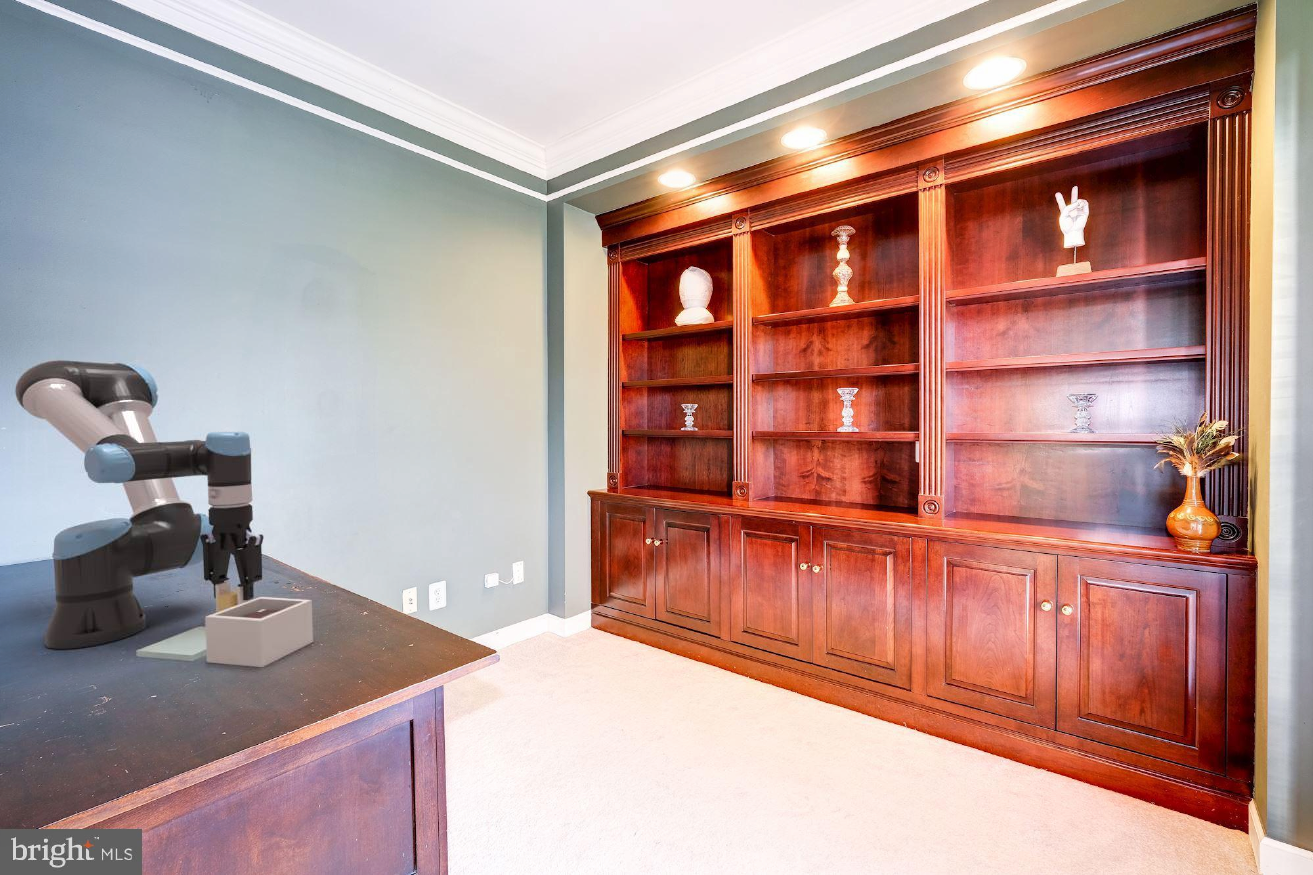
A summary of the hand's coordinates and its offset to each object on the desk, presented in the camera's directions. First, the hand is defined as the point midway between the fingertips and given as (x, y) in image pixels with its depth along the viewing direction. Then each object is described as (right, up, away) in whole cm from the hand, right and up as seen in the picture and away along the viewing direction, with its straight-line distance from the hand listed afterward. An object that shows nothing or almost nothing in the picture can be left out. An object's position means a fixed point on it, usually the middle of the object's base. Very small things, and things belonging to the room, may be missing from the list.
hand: (234, 613), depth 125 cm
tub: (+14, -4, -11) cm, 18 cm away
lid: (-1, -4, -6) cm, 7 cm away
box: (+14, -4, -11) cm, 18 cm away
